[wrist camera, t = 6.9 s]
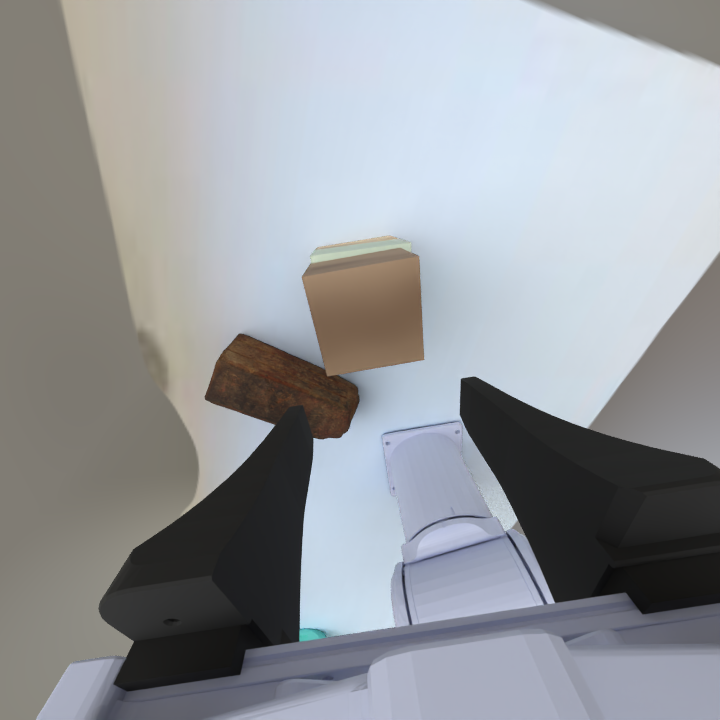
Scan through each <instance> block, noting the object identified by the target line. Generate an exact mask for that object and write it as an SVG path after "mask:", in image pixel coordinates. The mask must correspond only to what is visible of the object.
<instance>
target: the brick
mask: <svg viewBox="0 0 720 720" xmlns="http://www.w3.org/2000/svg"><path fill="white" fill-rule="evenodd" d="M205 400H207V401H209V402H211V403H213V404H216V405H219V406H223V407H225V408H228V409H231V410H234V411H237V412H240V413H242V414H245V415H248V416H251V417H254V418H257V419H260V420H263V421H266V422H269V423H272V424H275V425H276V424H277V423H278V421H279V420H280V419H281V417H282V416H283V415H284V413H285V412H286V411H287V409H288V408H289V407H292V406H298V405H303V407H304V410H305V413H306V417H307V420H308V423H309V426H310V429H311V432H312V435H313V438H317V439H326V438H340V437H341V436H342V435H343V434H344V433H346V432H347V431H348V429H349V427H350V423H351V420H352V418H353V416H354V414H355V412H356V409H357V407H358V404H359V395H358V388H357V386H356V385H354V384H352V383H350V382H348V381H347V380H344V379H342V378H341V377H339V376H337V375H333V376H327V374H326V370H324V369H322V368H320V367H318V366H316V365H314V364H311V363H309V362H307V361H304V360H301V359H299V358H297V357H295V356H292V355H290V354H288V353H286V352H284V351H281V350H279V349H277V348H275V347H273V346H270V345H268V344H265V343H263V342H261V341H258V340H256V339H254V338H252V337H249V336H247V335H244V334H238V336H237V337H236V338H235V339H234V340H233V341H232V343H231V344H230V345H229V346H228V347H227V348H226V349H225V350H224V351H223V353H222V354H221V355H220V357H219V359H218V360H217V362H216V365H215V368H214V372H213V375H212V378H211V381H210V384H209V387H208V390H207V392H206V395H205Z"/></svg>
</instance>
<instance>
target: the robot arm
mask: <svg viewBox="0 0 720 720" xmlns="http://www.w3.org/2000/svg"><path fill="white" fill-rule="evenodd" d="M460 416H461V418H462V421H463V423H464V425H465V427H466V429H467V431H468V433H469V435H470V437H471V438H472V440H473V442H474V443H475V445H476V446H477V448H478V450H479V451H480V453H481V454H482V456H483V457H484V459H485V461H486V462H487V464H488V465H489V467H490V468H491V470H492V472H493V473H494V475H495V476H496V478H497V480H498V481H499V483H500V485H501V487H502V488H503V490H504V492H505V494H506V496H507V498H508V500H509V502H510V504H511V506H512V508H513V510H514V512H515V514H516V517H517V519H518V521H519V523H520V525H521V527H522V529H523V531H524V533H525V535H526V537H525V536H524V535H522V534H520V533H518V532H517V531H516V530H514V529H510V530H507V531H506V533H505V531H504V529H503V527H502V525H501V524H500V522H499V520H498V518H497V517H493V516H492V514H491V512H490V510H489V508H488V506H487V505H486V503H485V501H484V499H483V497H482V495H481V493H480V491H479V489H478V487H477V485H476V483H475V481H474V479H473V477H472V475H471V473H470V471H469V470H468V468H467V466H466V464H465V462H464V460H463V458H462V456H461V450H462V425H461V423H459V422H454V423H448V424H442V425H436V426H430V427H424V428H418V429H412V430H405V431H399V432H393V433H387V434H384V435H383V436H382V441H383V448H384V454H385V460H386V467H387V473H388V479H389V486H390V492H391V495H392V496H397V500H398V505H399V510H400V515H401V520H402V525H403V530H404V535H405V539H406V544H403V545H402V546H401V549H402V555H403V560H404V561H403V562H399V563H397V564H396V566H395V569H394V573H393V576H392V579H391V600H392V608H393V615H394V621H395V626H396V627H394V628H387V629H381V630H374V631H367V632H361V633H354V634H348V635H341V636H334V637H328V638H321V639H315V640H308V641H301V642H299V631H300V580H301V555H302V537H303V521H304V512H305V504H306V498H307V492H308V486H309V480H310V474H311V467H312V460H313V435H312V432H311V429H310V426H309V423H308V420H307V417H306V413H305V410H304V407H303V405H298V406H292V407H289V408H288V409H287V411H286V412H285V413H284V415H283V416H282V417H281V419H280V420H279V421H278V423H277V424H276V425H275V426H274V428H273V429H272V430H271V432H270V433H269V434H268V435H267V437H266V438H265V439H264V440H263V442H262V443H261V444H260V445H259V446H258V447H257V449H256V450H255V451H254V452H253V453H252V454H251V455H250V457H249V458H248V459H247V460H246V461H245V462H244V463H243V464H242V465H241V466H240V467H239V468H238V469H237V470H236V471H235V472H234V473H233V474H232V475H231V476H230V477H229V478H228V479H227V480H225V481H224V482H223V483H222V484H221V485H220V486H219V487H217V488H216V489H215V490H214V491H213V492H212V493H210V494H209V495H208V496H207V497H206V498H205V499H203V500H202V501H201V502H200V503H198V504H197V505H196V506H195V507H193V508H192V509H191V510H189V511H188V512H187V513H185V514H184V515H183V516H181V517H180V518H179V519H177V520H176V521H175V522H173V523H172V524H170V525H169V526H168V527H166V528H165V529H163V530H162V531H160V532H159V533H157V534H156V535H154V536H153V537H151V538H150V539H148V540H147V541H145V542H144V543H142V544H141V545H139V546H138V547H136V548H135V549H133V551H132V552H131V554H130V555H129V557H128V559H127V560H126V562H125V563H124V565H123V567H122V568H121V570H120V571H119V573H118V574H117V576H116V578H115V579H114V581H113V582H112V584H111V585H110V587H109V589H108V590H107V592H106V593H105V595H104V597H103V598H102V600H101V601H100V604H99V612H100V614H101V617H102V618H103V619H104V620H105V621H106V622H107V623H108V624H109V625H111V626H112V627H114V628H115V629H117V630H118V631H120V632H121V633H123V634H124V635H126V636H127V637H128V638H130V639H131V640H133V641H134V643H133V645H132V647H131V649H130V651H129V653H128V655H127V657H122V656H107V657H101V658H95V659H88V660H81V661H75V662H73V663H71V664H70V665H69V666H68V668H67V670H66V671H65V673H64V674H63V676H62V678H61V679H60V681H59V683H58V684H57V686H56V687H55V689H54V691H53V693H52V694H51V696H50V697H49V699H48V700H47V702H46V704H45V706H44V707H43V709H42V710H41V712H40V713H39V715H38V717H37V718H36V720H720V469H719V468H718V467H716V466H715V465H713V464H712V463H710V462H709V461H707V460H705V459H703V458H698V457H694V456H689V455H684V454H680V453H675V452H670V451H666V450H661V449H657V448H653V447H648V446H644V445H641V444H637V443H633V442H629V441H626V440H622V439H618V438H615V437H611V436H608V435H605V434H602V433H599V432H596V431H593V430H590V429H587V428H584V427H581V426H578V425H575V424H572V423H570V422H567V421H565V420H562V419H560V418H557V417H555V416H552V415H550V414H547V413H545V412H543V411H541V410H538V409H536V408H534V407H532V406H530V405H528V404H526V403H524V402H522V401H520V400H518V399H516V398H514V397H512V396H510V395H508V394H506V393H504V392H503V391H501V390H499V389H497V388H495V387H493V386H492V385H490V384H488V383H486V382H484V381H482V380H481V379H479V378H477V377H468V378H462V379H461V391H460ZM456 430H457V431H456Z"/></svg>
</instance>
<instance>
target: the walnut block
mask: <svg viewBox="0 0 720 720" xmlns="http://www.w3.org/2000/svg"><path fill="white" fill-rule="evenodd" d="M302 280H303V284H304V288H305V292H306V296H307V300H308V304H309V307H310V311H311V315H312V319H313V323H314V327H315V331H316V335H317V339H318V343H319V346H320V350H321V354H322V358H323V362H324V366H325V370H326V374H327V376H333V375H339V374H345V373H351V372H356V371H362V370H368V369H374V368H380V367H386V366H392V365H397V364H403V363H409V362H415V361H421V360H424V348H423V327H422V307H421V286H420V265H419V256H417V255H415V254H413V253H411V252H409V251H407V250H404V249H402V248H396V249H390V250H384V251H379V252H373V253H367V254H362V255H356V256H351V257H345V258H339V259H334V260H328V261H322V262H317V263H311V264H310V265H309V267H308V268H307V270H306V271H305V273H304V274H303V276H302Z"/></svg>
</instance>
